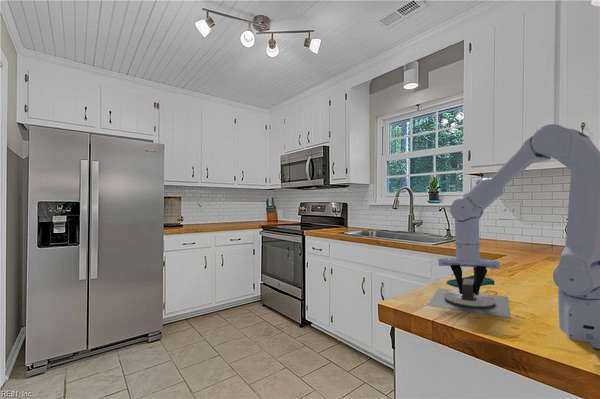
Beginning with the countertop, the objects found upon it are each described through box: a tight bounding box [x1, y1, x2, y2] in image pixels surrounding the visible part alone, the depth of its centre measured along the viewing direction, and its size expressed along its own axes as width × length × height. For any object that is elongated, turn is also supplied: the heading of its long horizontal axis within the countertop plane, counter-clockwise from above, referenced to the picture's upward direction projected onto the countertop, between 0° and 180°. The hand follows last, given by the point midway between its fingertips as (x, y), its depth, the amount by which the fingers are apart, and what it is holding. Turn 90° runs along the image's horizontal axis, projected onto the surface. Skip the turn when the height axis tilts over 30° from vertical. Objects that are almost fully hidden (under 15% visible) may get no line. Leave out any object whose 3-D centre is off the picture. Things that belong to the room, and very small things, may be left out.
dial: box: [444, 277, 495, 308], centre depth 82 cm, size 12×12×5 cm
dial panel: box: [427, 287, 512, 320], centre depth 82 cm, size 18×18×1 cm
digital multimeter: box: [446, 274, 495, 288], centre depth 99 cm, size 7×15×3 cm, turn 115°
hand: (468, 293), depth 82 cm, fingers closed on dial, 3 cm apart
